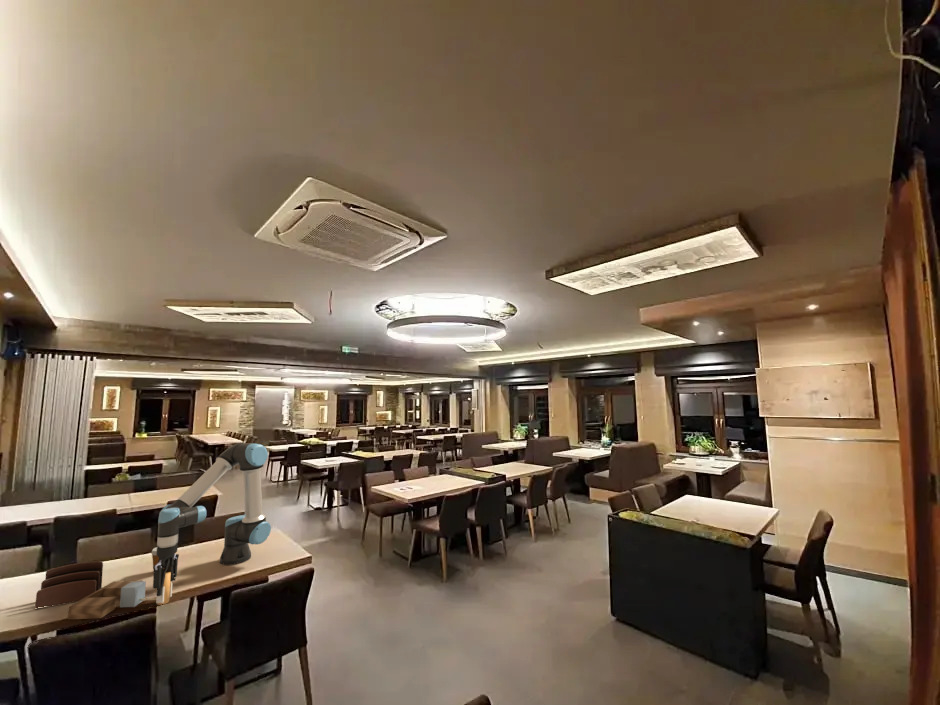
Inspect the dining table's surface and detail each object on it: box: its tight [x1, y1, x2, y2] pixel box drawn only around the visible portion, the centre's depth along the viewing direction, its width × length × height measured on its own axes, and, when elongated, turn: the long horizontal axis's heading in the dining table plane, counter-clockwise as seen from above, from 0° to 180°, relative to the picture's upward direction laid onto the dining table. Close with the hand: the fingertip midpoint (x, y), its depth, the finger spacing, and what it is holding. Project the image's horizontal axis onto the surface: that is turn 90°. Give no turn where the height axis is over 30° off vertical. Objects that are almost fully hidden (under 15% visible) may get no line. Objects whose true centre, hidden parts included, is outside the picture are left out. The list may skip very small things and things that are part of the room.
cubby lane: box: [67, 580, 144, 620], centre depth 179 cm, size 13×22×5 cm, turn 3°
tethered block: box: [119, 572, 171, 608], centre depth 180 cm, size 18×6×12 cm, turn 93°
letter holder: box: [34, 560, 104, 609], centre depth 185 cm, size 10×20×14 cm, turn 120°
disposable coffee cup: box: [150, 546, 159, 567], centre depth 212 cm, size 10×10×12 cm
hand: (164, 599), depth 180 cm, fingers closed on tethered block, 4 cm apart
